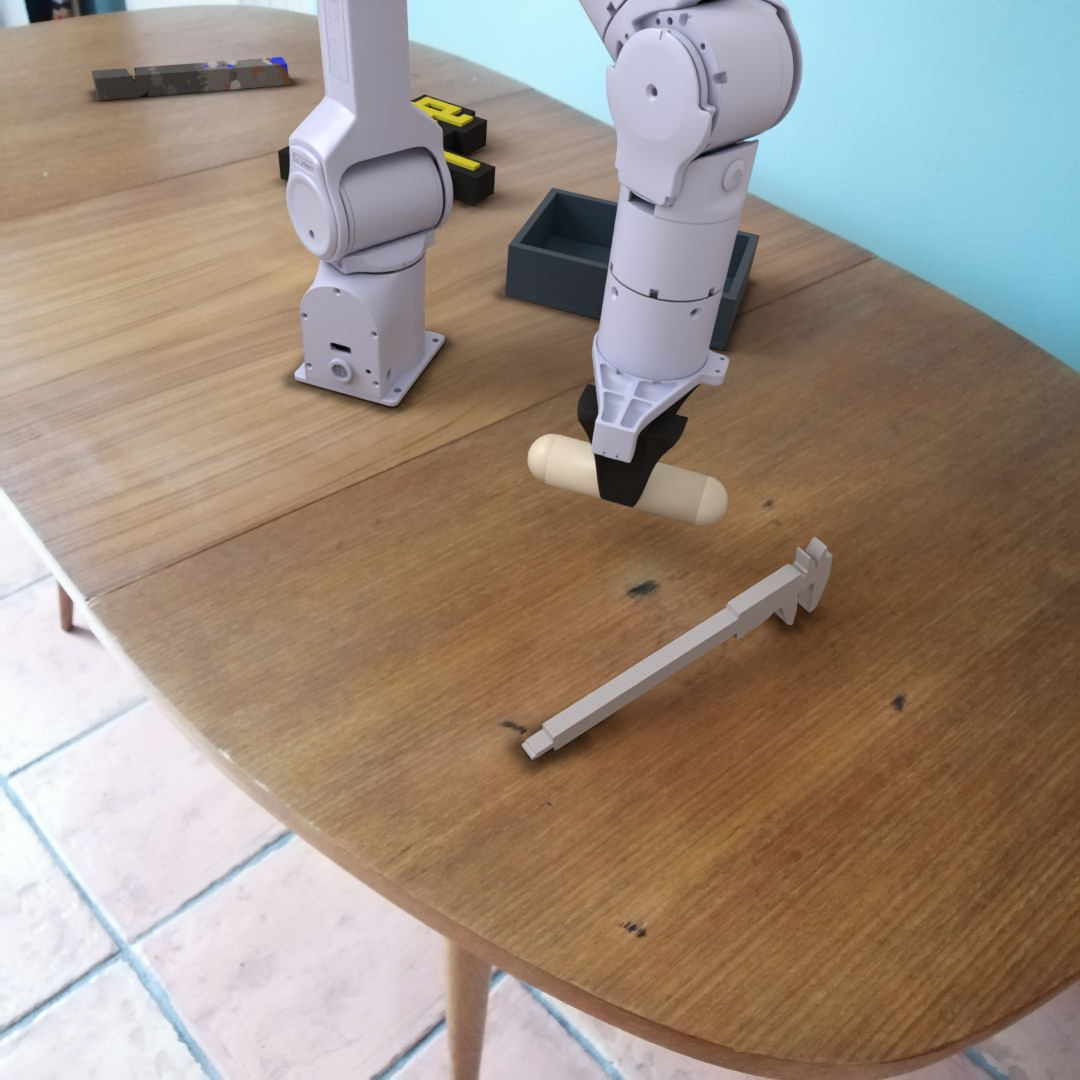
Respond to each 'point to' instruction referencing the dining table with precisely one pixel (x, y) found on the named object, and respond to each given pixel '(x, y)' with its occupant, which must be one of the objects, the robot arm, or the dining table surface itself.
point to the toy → (449, 149)
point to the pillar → (190, 78)
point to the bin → (595, 259)
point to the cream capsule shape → (662, 496)
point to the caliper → (695, 645)
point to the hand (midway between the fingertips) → (625, 481)
